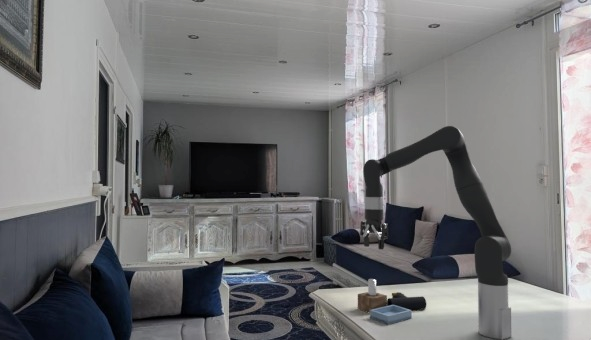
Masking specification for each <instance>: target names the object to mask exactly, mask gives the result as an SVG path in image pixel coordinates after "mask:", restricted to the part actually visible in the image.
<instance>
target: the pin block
mask: <svg viewBox="0 0 591 340" xmlns="http://www.w3.org/2000/svg"><path fill="white" fill-rule="evenodd" d="M387 300H388V295H386V294H383V293H380V292H379V293H378V292H376V296H374V297H372V296H368V291H366V292H361V293H358V294H357V310H359V309H360V310H359V311H362V310H363V312H365V311H366V313H368V312H369V313H368V314H370V310H372V309H377V308H381V307H385V306H387Z"/></svg>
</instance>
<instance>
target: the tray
mask: <svg viewBox="0 0 591 340" xmlns="http://www.w3.org/2000/svg"><path fill="white" fill-rule="evenodd" d="M412 313H413V312H412V310H409V309H406V308H402V307H399V306H396V305H390V306H385V307H381V308H377V309H372V310H370V313H369V318H370V319H372V320H373V321H377V322H380V323H383V324H385V325H392V324H396V323H399V322H403V321H407V320H411V319H412V317H413V316H412Z"/></svg>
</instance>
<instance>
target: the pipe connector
mask: <svg viewBox="0 0 591 340" xmlns="http://www.w3.org/2000/svg"><path fill="white" fill-rule="evenodd" d="M390 305H396V306H399V307H402V308H406V309H409V310H413V311H415V310H426V309H427V300H426V298H425V297H424V296H422V295H421V296H409V297H408V296H406V295H405V294H404V293H402V292H399V291H398V292H392V293H391V298H390V297H389V298H387V306H390Z"/></svg>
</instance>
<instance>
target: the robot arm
mask: <svg viewBox="0 0 591 340" xmlns="http://www.w3.org/2000/svg"><path fill="white" fill-rule="evenodd" d="M438 151H443V153H444V154H445V156H446V158H447V160H448V163H449V164H450V168H451V170H452V171H451V172H452V175H453V176H452V177H453V182H454V187H455V190H456V193H457V195H458V198H459V201H460V203H461V205H462V207H463V208H464V210H465V211H466V212H467V213H468V214H469V216H470V217H471V219H473V220H474V222H475V224H476V225H477V227H478V229H479V232H480V235H481V237H479V238H478V239H477V240H476V242H475V245H474V268H475V273H476V276H477V292H478V293H477V304H478V305H477V306H478V307H477V309H478V310H477V311H478V312H477V313H478V314H477V316H478V320H477V321H478V322H477V323H478V325H477V327H478V334H480V335H482V336H483V337H486V338H489V339H496V340H497V339H498V340H505V339H508V338H510V337H512V308H511V307H510V306H509V278H508V275H507V274H505V272H504V268H503V262H505V261H507V260H508V259H510V257H511V254H512V247H511V245H512V244H511V243H510V240H509V238H508V237H507V235H506V234H505V233H506V232H505V231H504V230H503V227H502V226H501V224H500V221H499V220H498V218H497V216H496V212H495V211H494V208H493V206H492V203H491V201H490V198H489V196H488V193H487V189H486V187H485V186H484V183H483V181H482V179H481V177H480V174H479V173H478V171H477V169H476V167H475V166H474V164H473V162H472V159H471V157H470V153H469V151H468V147H467V144H466V140H465V136H464V135H463V133H462V132H461V131H460V129H459V128H458V127H456V126H453V125H446V126H444V127H441V128H439V129H437V130H436V131H435V132H433V133H431V134H430V135H428V136H426V137H424V138H422V139H420V140H419V141H416V142H414V143H411V144H410V145H407V146H405V147H402V148H400V149H397V150H394V151H392V152H389V153H388V154H386V156H383V157H381V158H379V159H373V158H372V159H371V158H370V159H368V160H367V161H366V162H365V163H364V165H363V172H362V173H363V179H364V184H365V198H364V220H362V221H360V229H359V235H360V236H362V237H363V246H364V247H365V248H367V247H369V246H370V235H371V234H375V236H377V239H378V240H377V241H378V250H384V248H385V240H387V239H389V224H388V223H382V221H383V220H384V198H383V197H384V194H383V193H384V187H383V183H382V182H381V177H382V176H384V175H387V174H389V173H390V172H392V171H394V170H397V169H401V168H403V167H406V166H409V165H410V164H413V163H415V162H416V161H418V160H419V159H421V158H423V157H424V156H426V155H428V154H431V153H433V152H438Z"/></svg>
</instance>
